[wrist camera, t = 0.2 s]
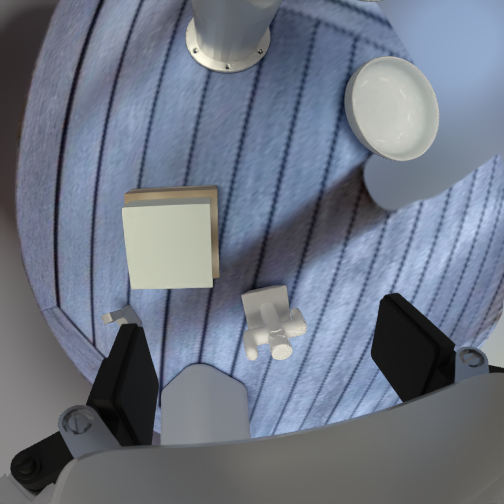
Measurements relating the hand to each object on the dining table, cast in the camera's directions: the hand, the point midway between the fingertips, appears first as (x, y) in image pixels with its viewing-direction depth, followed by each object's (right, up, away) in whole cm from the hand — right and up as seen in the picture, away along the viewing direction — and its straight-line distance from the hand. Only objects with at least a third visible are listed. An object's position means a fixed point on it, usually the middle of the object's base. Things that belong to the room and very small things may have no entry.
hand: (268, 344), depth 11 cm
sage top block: (-12, +6, +31) cm, 33 cm away
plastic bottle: (-11, -26, +47) cm, 55 cm away
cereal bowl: (+20, +27, +33) cm, 47 cm away
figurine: (+1, -5, +41) cm, 42 cm away
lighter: (-22, -6, +39) cm, 45 cm away
